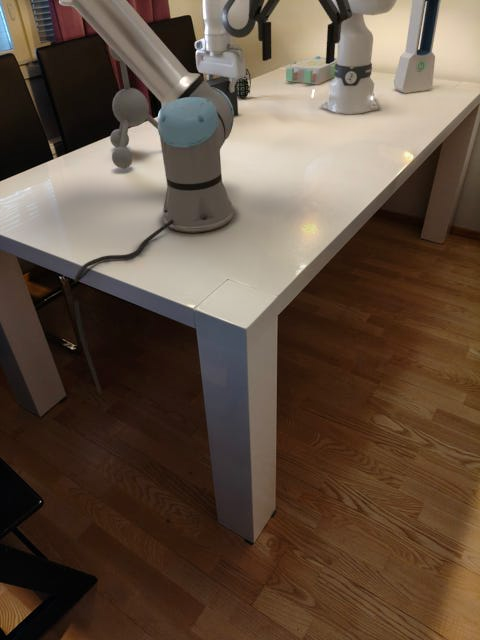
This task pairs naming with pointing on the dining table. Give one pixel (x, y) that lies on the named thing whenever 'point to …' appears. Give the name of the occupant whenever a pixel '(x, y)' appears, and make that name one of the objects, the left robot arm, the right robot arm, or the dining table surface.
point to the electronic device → (419, 63)
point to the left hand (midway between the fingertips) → (297, 61)
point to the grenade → (243, 86)
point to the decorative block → (311, 71)
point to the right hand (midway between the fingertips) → (222, 90)
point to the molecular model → (127, 116)
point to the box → (226, 90)
